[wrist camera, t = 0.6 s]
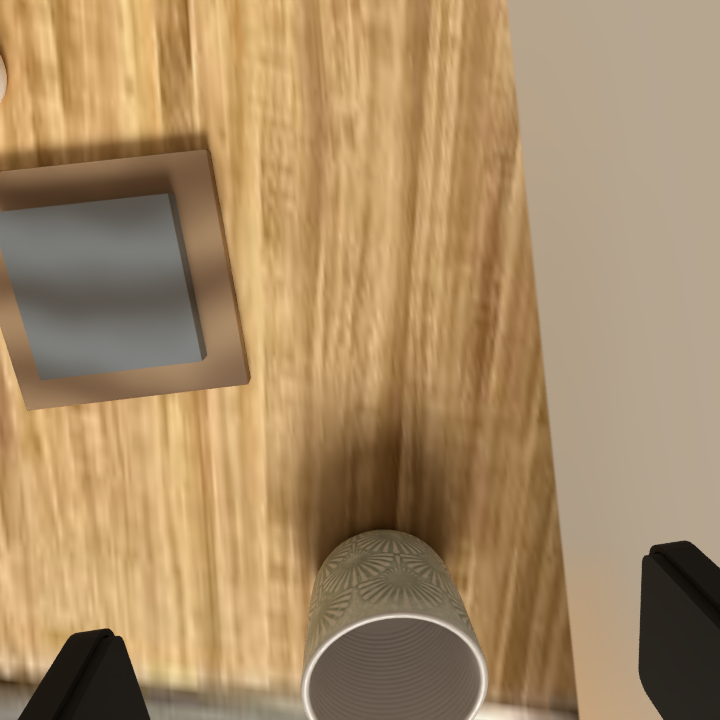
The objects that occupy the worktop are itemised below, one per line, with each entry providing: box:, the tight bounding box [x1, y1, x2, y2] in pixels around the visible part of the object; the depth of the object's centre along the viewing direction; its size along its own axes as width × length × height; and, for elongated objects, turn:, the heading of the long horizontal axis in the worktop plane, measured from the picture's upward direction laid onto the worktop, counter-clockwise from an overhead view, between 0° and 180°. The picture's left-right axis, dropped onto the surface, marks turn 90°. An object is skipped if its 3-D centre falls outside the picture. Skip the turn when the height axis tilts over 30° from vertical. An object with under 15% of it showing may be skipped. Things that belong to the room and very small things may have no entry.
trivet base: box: [0, 149, 251, 411], centre depth 34 cm, size 16×16×3 cm
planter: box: [301, 530, 488, 720], centre depth 38 cm, size 12×12×11 cm
